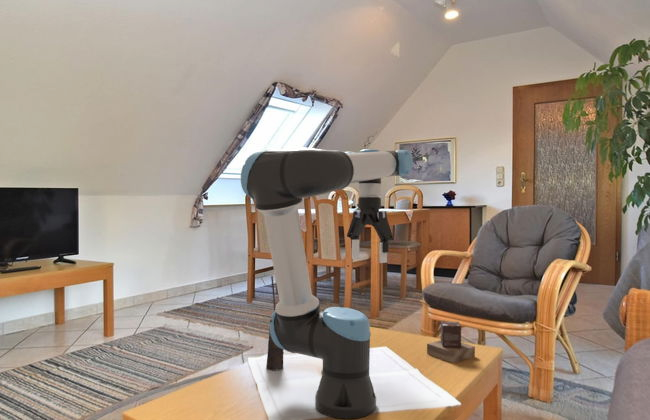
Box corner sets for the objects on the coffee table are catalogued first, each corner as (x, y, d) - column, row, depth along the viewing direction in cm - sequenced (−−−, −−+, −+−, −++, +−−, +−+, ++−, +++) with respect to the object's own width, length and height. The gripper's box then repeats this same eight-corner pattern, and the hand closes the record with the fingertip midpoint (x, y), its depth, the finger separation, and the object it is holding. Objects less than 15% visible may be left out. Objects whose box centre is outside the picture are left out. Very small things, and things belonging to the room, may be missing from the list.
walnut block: (453, 364, 145) (453, 352, 145) (426, 355, 154) (427, 343, 154) (474, 358, 151) (474, 346, 151) (448, 349, 160) (448, 338, 160)
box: (458, 342, 155) (458, 321, 155) (461, 348, 149) (461, 326, 149) (440, 342, 156) (440, 320, 156) (442, 347, 150) (442, 325, 150)
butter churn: (299, 366, 140) (300, 276, 140) (280, 376, 132) (281, 280, 132) (277, 360, 145) (278, 273, 145) (256, 369, 137) (257, 276, 137)
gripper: (405, 196, 143) (404, 263, 143) (353, 197, 163) (353, 256, 163) (388, 195, 138) (387, 265, 139) (337, 196, 158) (336, 257, 159)
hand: (368, 260), depth 151 cm, fingers open, 13 cm apart
